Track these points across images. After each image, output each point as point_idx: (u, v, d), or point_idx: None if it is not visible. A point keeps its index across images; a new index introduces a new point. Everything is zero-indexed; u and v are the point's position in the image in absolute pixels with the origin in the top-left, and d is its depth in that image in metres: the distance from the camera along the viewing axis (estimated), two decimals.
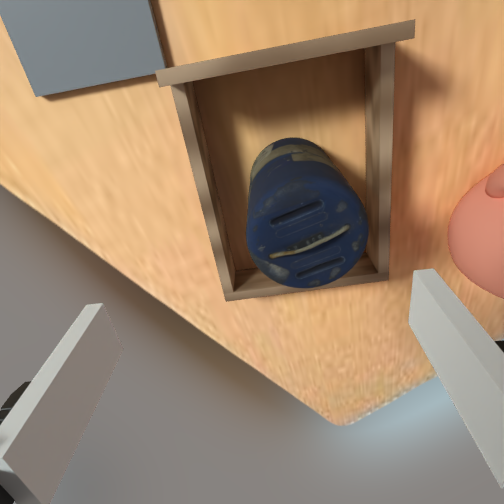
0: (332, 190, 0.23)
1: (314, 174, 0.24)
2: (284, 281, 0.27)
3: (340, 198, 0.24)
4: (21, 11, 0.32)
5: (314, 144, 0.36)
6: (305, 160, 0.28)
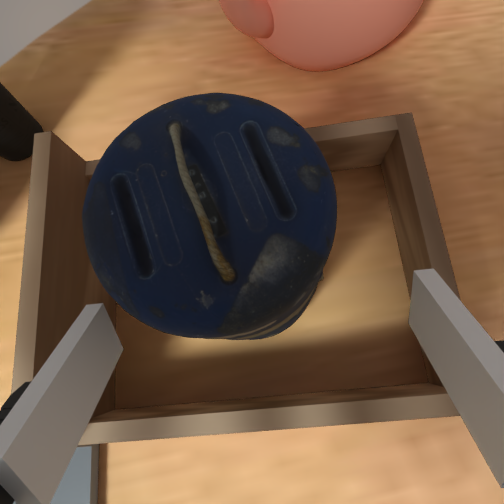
0: (101, 161, 0.13)
1: None
2: (304, 246, 0.11)
3: (116, 145, 0.12)
4: None
5: None
6: None
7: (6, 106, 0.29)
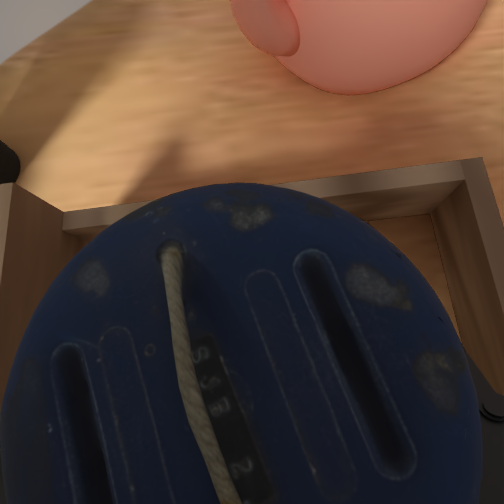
0: (38, 311, 0.07)
1: None
2: None
3: (65, 283, 0.07)
4: None
5: None
6: None
7: None
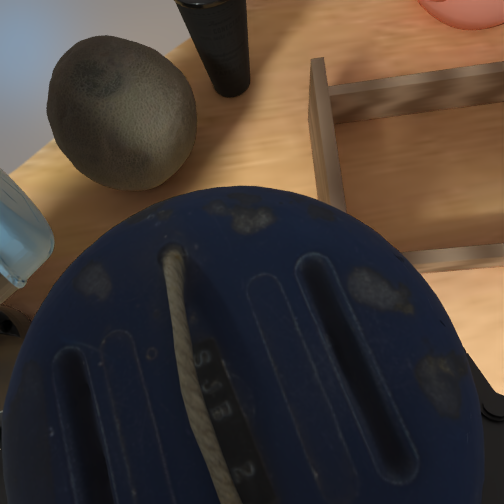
0: (40, 314, 0.07)
1: None
2: None
3: (67, 286, 0.07)
4: None
5: None
6: None
7: (248, 49, 0.39)
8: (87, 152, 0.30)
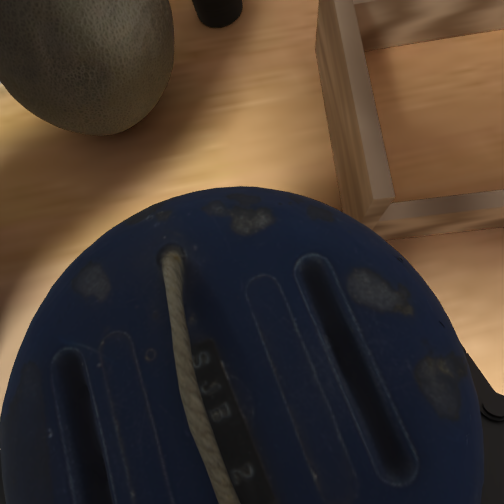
0: (38, 315, 0.07)
1: None
2: None
3: (66, 287, 0.07)
4: None
5: None
6: None
7: None
8: (18, 61, 0.22)
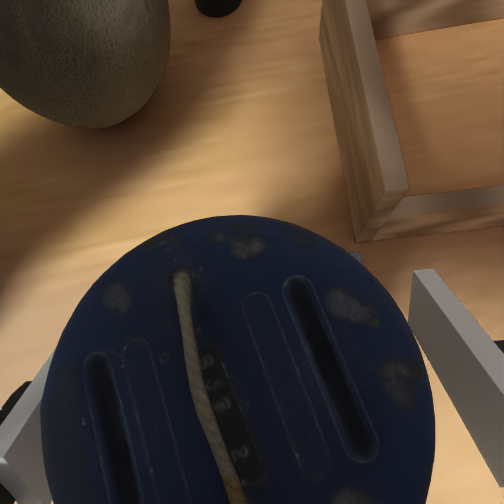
0: (70, 325, 0.08)
1: None
2: None
3: (93, 301, 0.08)
4: None
5: None
6: None
7: None
8: (1, 45, 0.20)
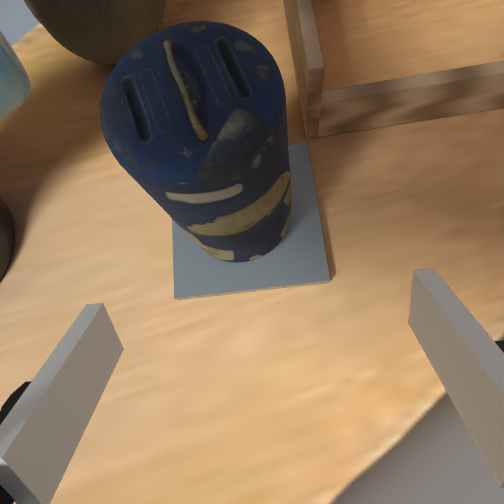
0: (113, 69, 0.17)
1: None
2: (257, 116, 0.15)
3: (124, 58, 0.17)
4: (248, 266, 0.31)
5: None
6: None
7: None
8: None
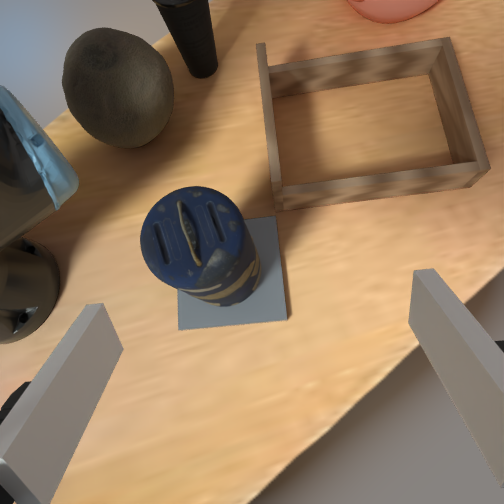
0: (148, 216, 0.30)
1: None
2: (228, 253, 0.28)
3: (154, 209, 0.30)
4: (230, 308, 0.44)
5: None
6: None
7: (213, 39, 0.51)
8: (92, 111, 0.42)
